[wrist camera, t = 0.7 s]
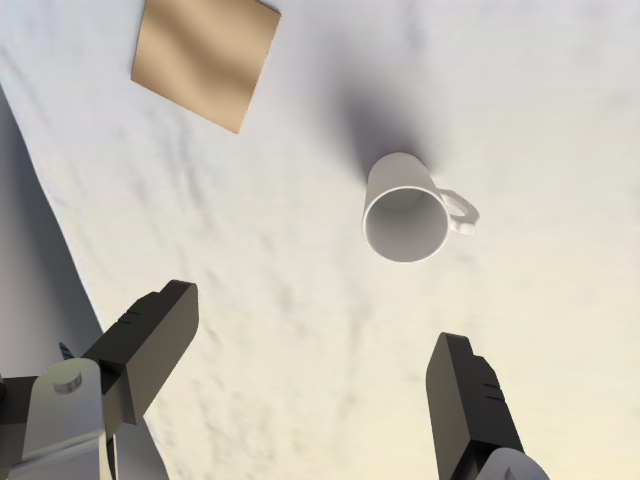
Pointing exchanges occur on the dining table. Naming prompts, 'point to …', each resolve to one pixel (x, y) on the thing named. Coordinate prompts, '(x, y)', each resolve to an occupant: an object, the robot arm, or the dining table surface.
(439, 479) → the robot arm
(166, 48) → the cork pad
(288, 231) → the dining table surface
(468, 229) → the mug
